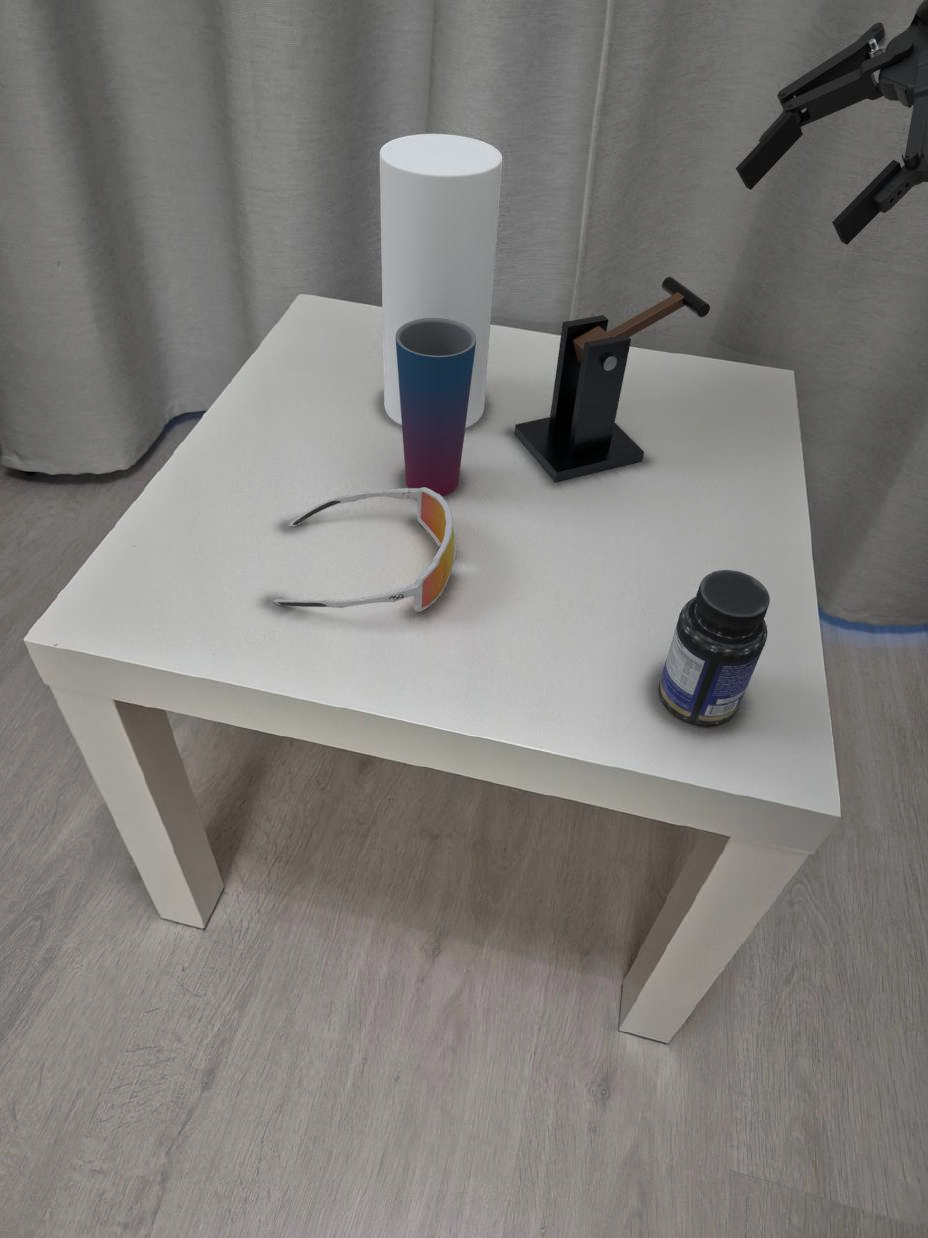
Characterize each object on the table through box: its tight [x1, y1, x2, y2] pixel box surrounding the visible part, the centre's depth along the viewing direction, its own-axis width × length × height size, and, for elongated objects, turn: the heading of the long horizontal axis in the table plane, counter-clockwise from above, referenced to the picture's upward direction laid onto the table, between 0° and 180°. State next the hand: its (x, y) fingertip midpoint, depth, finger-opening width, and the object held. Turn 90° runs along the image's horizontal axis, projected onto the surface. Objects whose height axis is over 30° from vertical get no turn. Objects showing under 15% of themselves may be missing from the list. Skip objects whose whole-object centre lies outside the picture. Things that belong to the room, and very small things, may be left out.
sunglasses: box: [273, 487, 458, 613], centre depth 74 cm, size 14×15×5 cm
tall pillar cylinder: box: [379, 133, 503, 429], centre depth 85 cm, size 11×11×25 cm
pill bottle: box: [658, 569, 771, 726], centre depth 63 cm, size 6×6×11 cm
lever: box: [573, 276, 711, 363], centre depth 82 cm, size 12×6×2 cm, turn 115°
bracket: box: [513, 314, 645, 483], centre depth 85 cm, size 10×9×13 cm
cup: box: [395, 318, 476, 497], centre depth 79 cm, size 7×7×15 cm
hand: (788, 205), depth 80 cm, fingers open, 13 cm apart
